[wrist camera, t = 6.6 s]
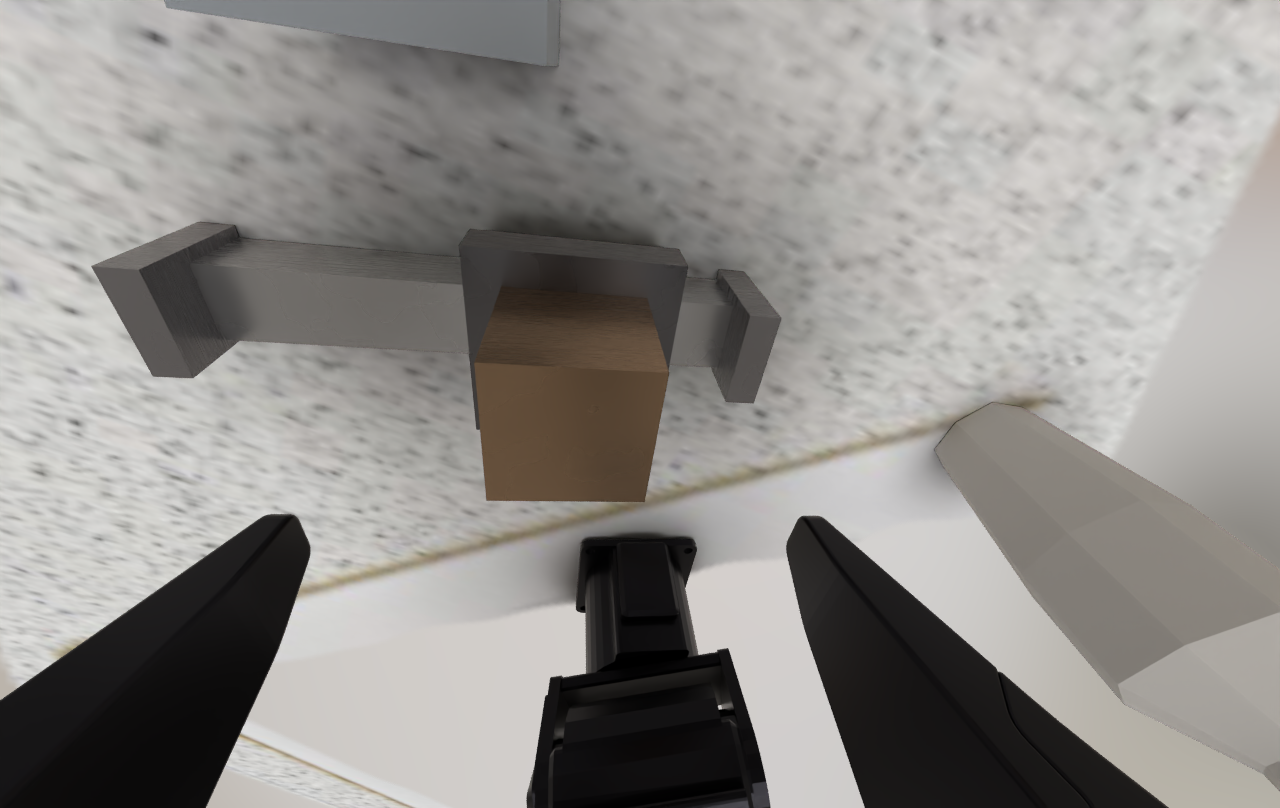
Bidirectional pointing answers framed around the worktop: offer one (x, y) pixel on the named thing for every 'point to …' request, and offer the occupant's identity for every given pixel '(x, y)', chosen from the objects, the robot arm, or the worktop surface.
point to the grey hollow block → (414, 22)
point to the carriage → (568, 361)
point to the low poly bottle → (1131, 579)
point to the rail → (369, 304)
